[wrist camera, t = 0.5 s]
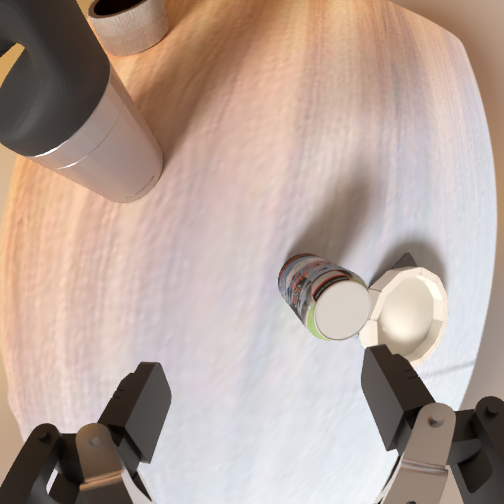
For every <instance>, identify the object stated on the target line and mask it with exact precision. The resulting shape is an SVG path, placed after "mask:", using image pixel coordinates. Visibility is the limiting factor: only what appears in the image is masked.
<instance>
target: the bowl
mask: <svg viewBox="0 0 504 504" xmlns="http://www.w3.org/2000/svg"><path fill="white" fill-rule="evenodd" d="M368 291H369V295H370V298H371V313H370V317H369V319H368V321H367V323H366V325H365V326H364V327H363V329H362V330H361V331H360V332H359V341H360V343H361V344H362V346H363V347H364V349H366V347H370V346H375V345H380V344H386V345H387V347H388V348H389V350H390V351H391V353H392V355H393V354H397V353H398V354H400V355H401V356H403V357H404V358H406V359H407V360H408V361H409V362H410V364H411V365H412V367H413V368H414V367H416V366H418V365H421V364H422V363H423V362H424V361H425V360H426V359H427V358H428V357H429V356H430V355H431V354H432V353H433V351H434V350H435V349H436V348H437V347H438V345H439V343H440V341H441V338H442V336H443V333H444V331H445V328H446V325H447V323H448V322H446V321H448V295H447V293H446V291H445V289H444V287H443V284H442V282H441V280H440V278H439V277H438V276H437V275H435V274H433V273H432V272H430V271H428V270H426V269H425V268H423V267H410V266H407V267H402V268H397V269H392V270H388V271H386V272H385V273H384V274H383V275H382V276H381V277H380V278H379V279H378V280H377V281H376V282H375V283H374V284H373V285H372V286H371V287H370V289H368Z"/></svg>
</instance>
